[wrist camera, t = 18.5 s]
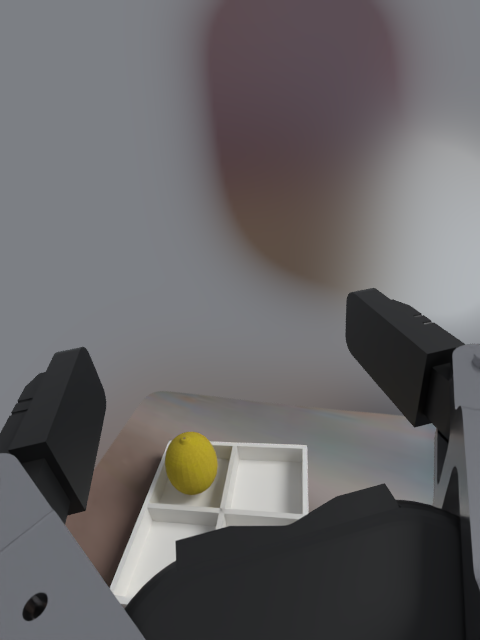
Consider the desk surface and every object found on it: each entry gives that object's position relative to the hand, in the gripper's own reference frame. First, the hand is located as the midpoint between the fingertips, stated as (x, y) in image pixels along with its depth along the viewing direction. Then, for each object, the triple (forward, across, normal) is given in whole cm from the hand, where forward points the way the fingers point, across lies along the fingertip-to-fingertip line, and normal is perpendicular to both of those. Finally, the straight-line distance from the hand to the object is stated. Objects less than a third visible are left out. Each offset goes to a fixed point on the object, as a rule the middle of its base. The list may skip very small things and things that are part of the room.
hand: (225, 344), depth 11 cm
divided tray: (+12, +2, +30) cm, 32 cm away
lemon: (+17, +5, +30) cm, 35 cm away
